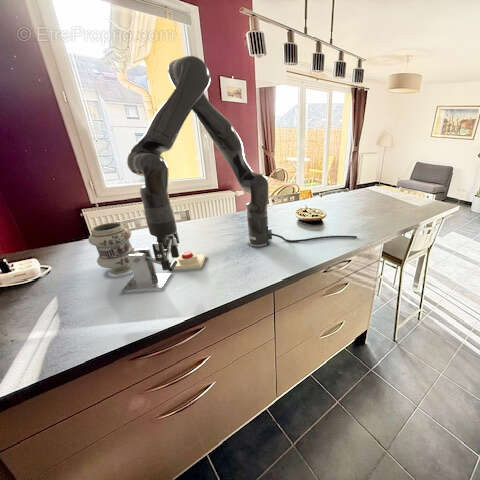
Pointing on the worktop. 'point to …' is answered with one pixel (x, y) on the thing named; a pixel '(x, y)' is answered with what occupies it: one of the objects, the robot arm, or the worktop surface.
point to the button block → (190, 261)
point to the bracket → (144, 272)
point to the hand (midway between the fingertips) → (171, 263)
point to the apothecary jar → (112, 246)
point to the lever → (158, 261)
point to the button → (187, 254)
